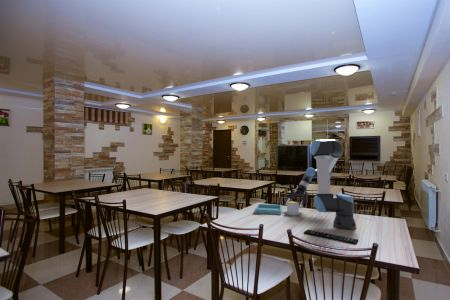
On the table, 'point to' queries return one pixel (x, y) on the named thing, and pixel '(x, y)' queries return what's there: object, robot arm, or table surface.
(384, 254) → the table surface
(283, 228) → the table surface
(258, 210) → the tray
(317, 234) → the black keyboard
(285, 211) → the dock mat
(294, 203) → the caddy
